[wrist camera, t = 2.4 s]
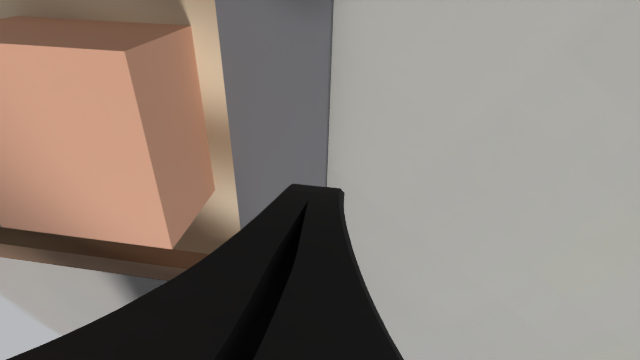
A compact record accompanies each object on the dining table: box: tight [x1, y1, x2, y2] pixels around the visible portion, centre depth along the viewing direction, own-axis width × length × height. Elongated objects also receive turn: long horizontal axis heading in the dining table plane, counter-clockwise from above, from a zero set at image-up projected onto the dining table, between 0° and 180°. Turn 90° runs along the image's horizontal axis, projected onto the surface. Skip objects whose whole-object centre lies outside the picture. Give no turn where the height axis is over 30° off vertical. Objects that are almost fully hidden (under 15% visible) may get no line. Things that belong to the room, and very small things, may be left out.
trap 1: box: [215, 0, 334, 229], centre depth 15 cm, size 15×4×1 cm, turn 179°
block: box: [0, 16, 215, 249], centre depth 14 cm, size 7×7×4 cm
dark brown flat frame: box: [0, 0, 241, 281], centre depth 16 cm, size 17×27×2 cm, turn 89°
